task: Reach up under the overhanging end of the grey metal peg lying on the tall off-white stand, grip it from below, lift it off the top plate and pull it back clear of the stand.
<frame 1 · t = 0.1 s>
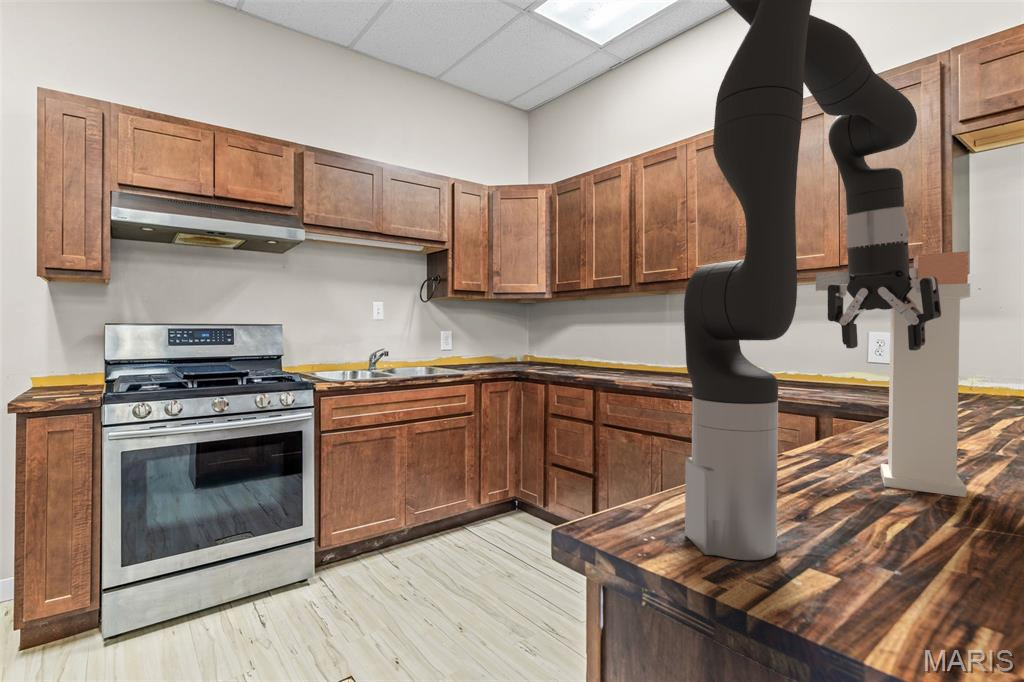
hand: (882, 348, 79), 22 cm above the counter, tool pointing down, fingers open, 8 cm apart
peg: (907, 287, 85), point 32 cm above the counter, touching stand
stand: (904, 481, 86), on the counter
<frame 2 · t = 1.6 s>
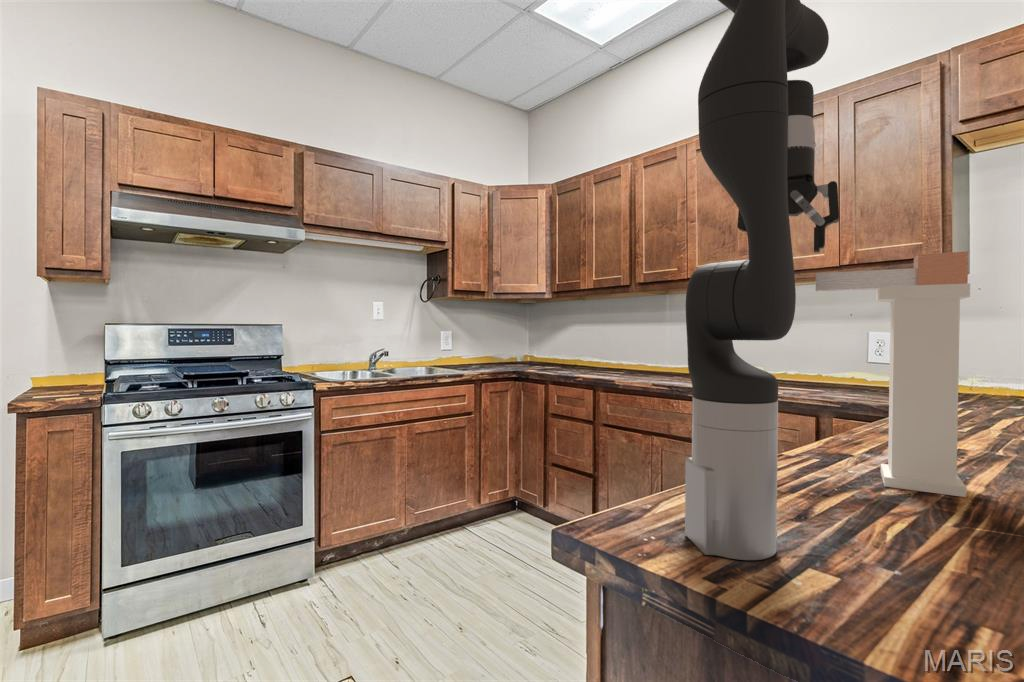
hand: (786, 254, 83), 37 cm above the counter, tool pointing down, fingers open, 8 cm apart
nothing on the counter moved.
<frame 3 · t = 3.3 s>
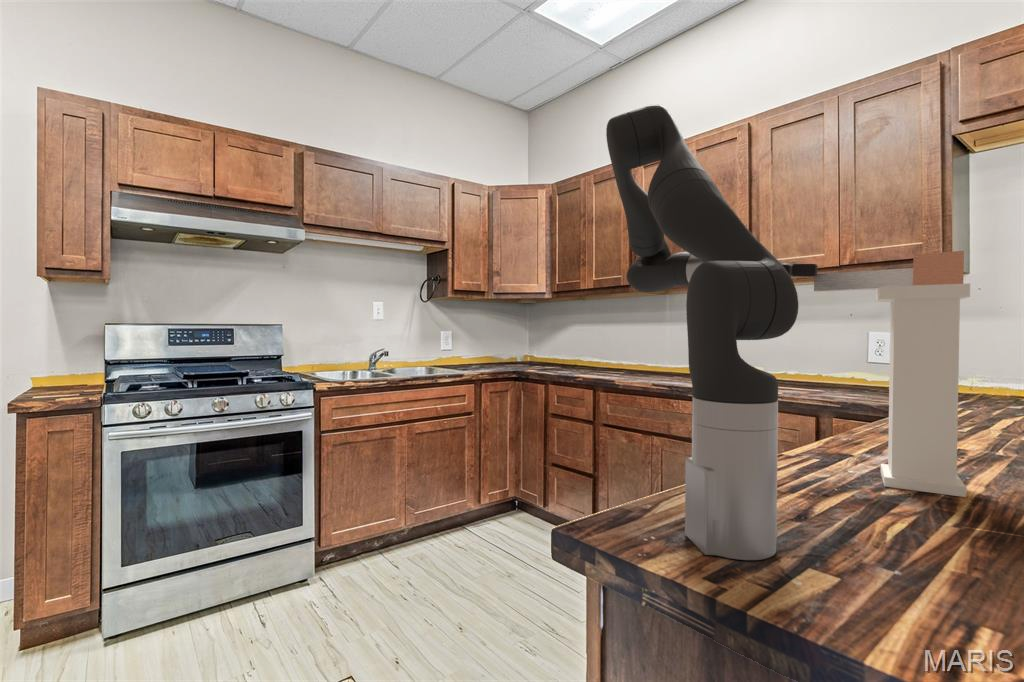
hand: (803, 270, 87), 35 cm above the counter, tool horizontal, fingers open, 8 cm apart
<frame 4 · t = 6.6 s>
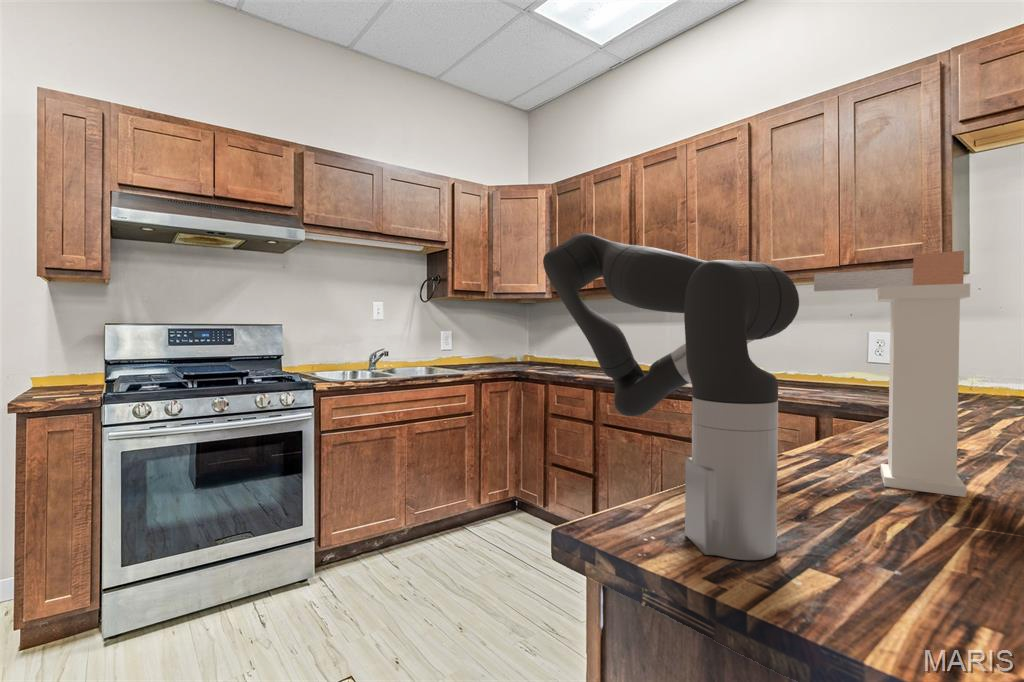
hand: (781, 314, 95), 28 cm above the counter, tool pointing upward, fingers open, 8 cm apart
nothing on the counter moved.
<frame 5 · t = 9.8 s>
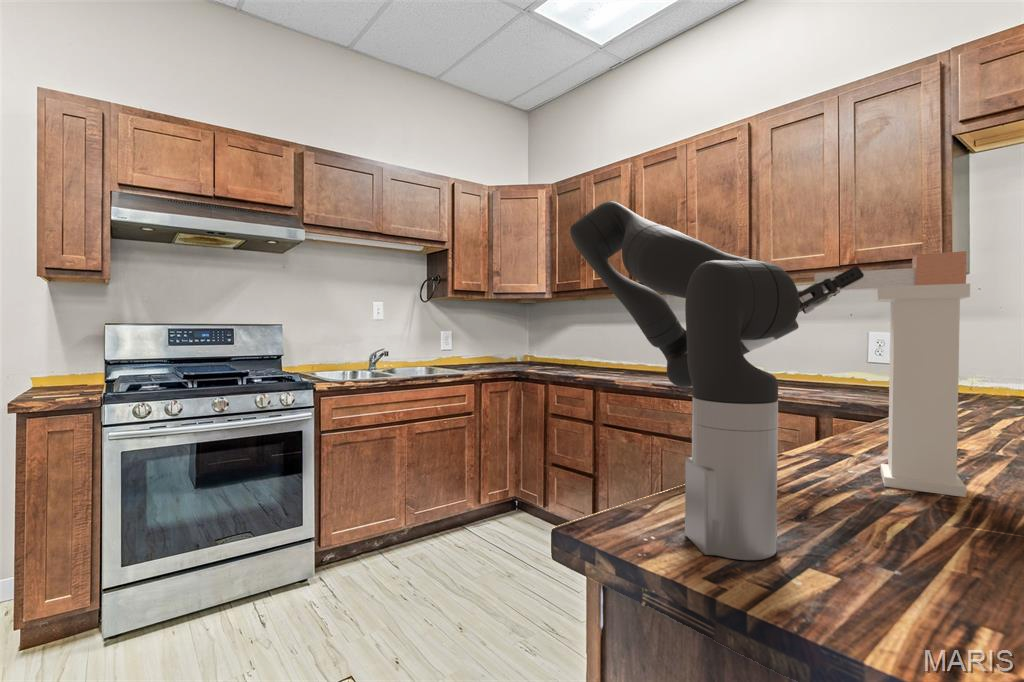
hand: (860, 272, 89), 35 cm above the counter, tool pointing upward, fingers closed on peg, 3 cm apart
peg: (906, 287, 85), point 32 cm above the counter, touching gripper, stand
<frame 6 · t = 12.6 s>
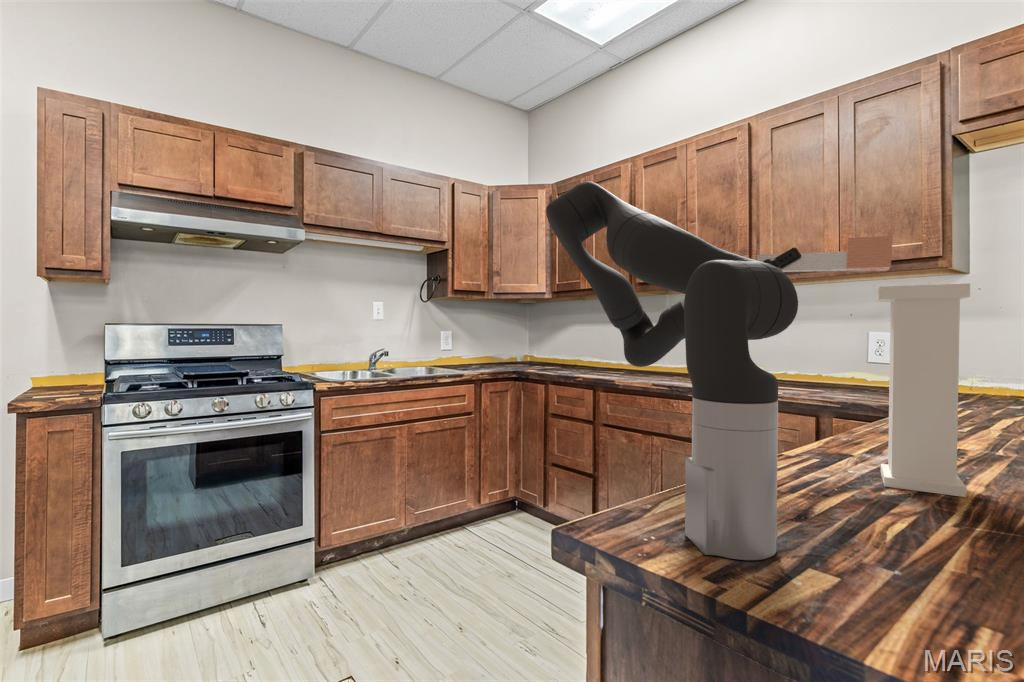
hand: (799, 253, 94), 39 cm above the counter, tool pointing upward, fingers closed on peg, 3 cm apart
peg: (839, 270, 90), point 35 cm above the counter, touching gripper
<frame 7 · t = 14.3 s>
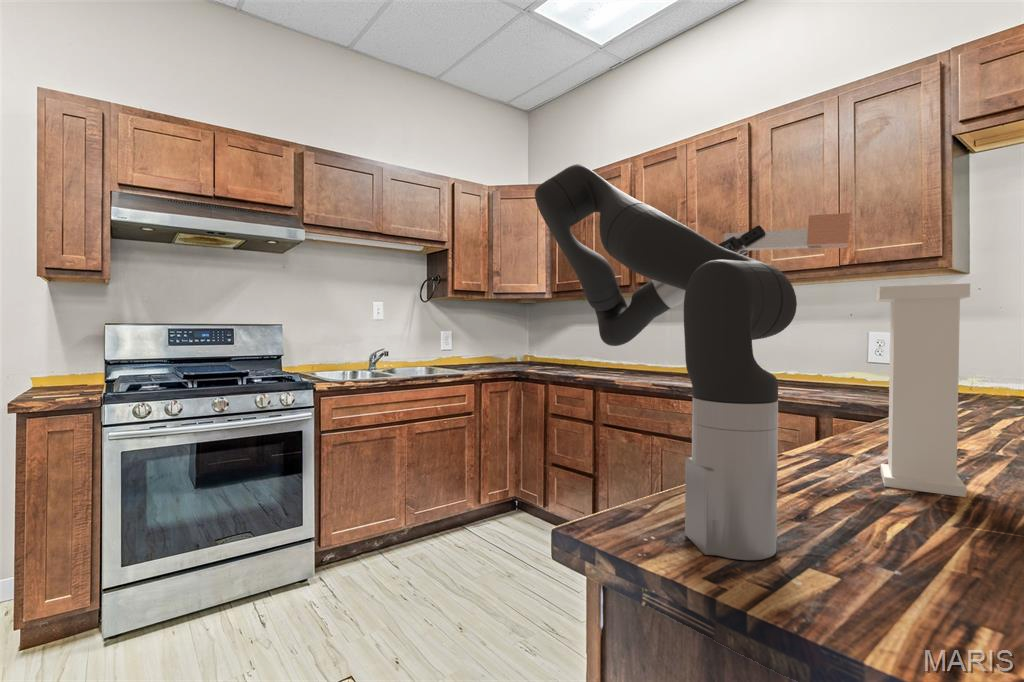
hand: (763, 231, 97), 43 cm above the counter, tool pointing upward, fingers closed on peg, 3 cm apart
peg: (801, 247, 93), point 40 cm above the counter, touching gripper
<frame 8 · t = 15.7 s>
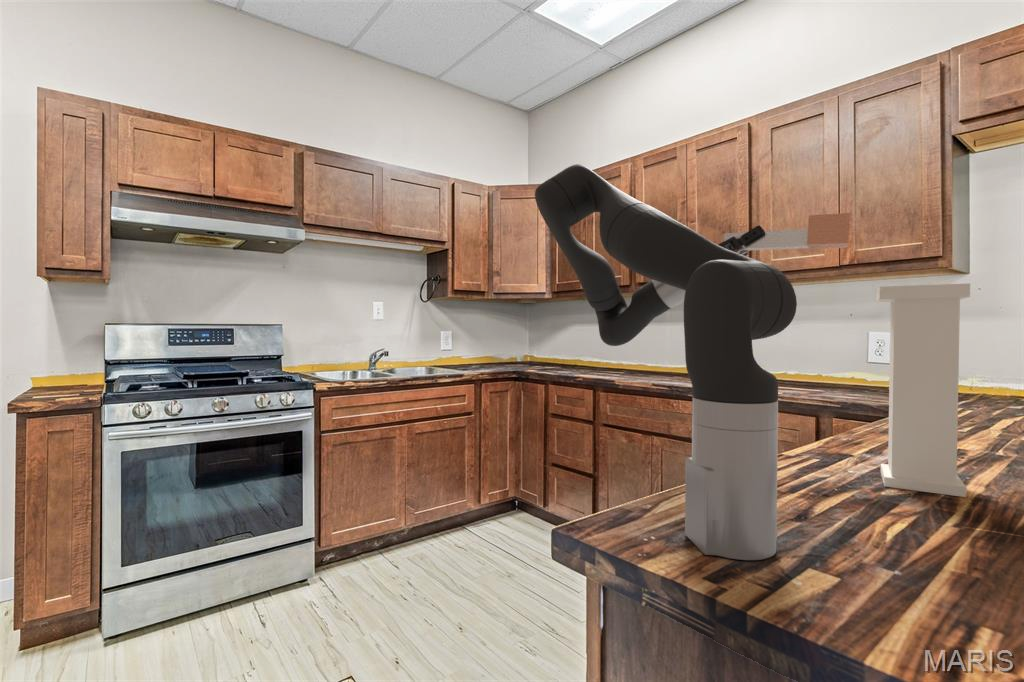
hand: (763, 231, 97), 43 cm above the counter, tool pointing upward, fingers closed on peg, 3 cm apart
peg: (801, 247, 93), point 40 cm above the counter, touching gripper
at the end: the gripper is holding peg; peg touching gripper; peg moved 17.2 cm from its start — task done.
